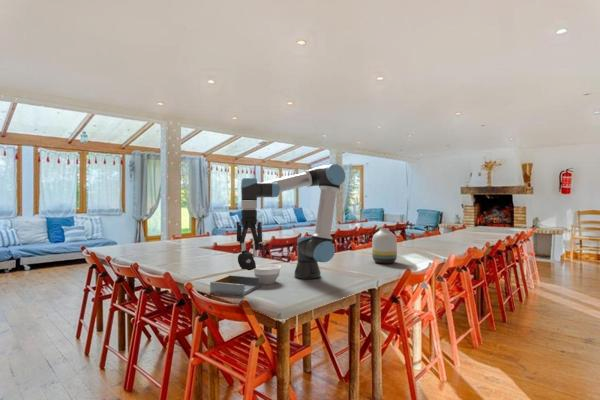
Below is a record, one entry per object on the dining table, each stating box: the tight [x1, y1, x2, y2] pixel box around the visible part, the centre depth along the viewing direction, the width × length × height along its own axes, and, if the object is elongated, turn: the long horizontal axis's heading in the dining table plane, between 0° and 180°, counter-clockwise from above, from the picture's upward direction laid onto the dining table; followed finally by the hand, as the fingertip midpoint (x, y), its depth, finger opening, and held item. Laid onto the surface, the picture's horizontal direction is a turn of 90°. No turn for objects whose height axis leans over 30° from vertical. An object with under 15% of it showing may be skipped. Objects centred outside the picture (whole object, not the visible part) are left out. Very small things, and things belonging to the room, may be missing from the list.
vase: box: [371, 227, 398, 265], centre depth 245 cm, size 17×17×24 cm
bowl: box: [253, 263, 282, 285], centre depth 187 cm, size 16×16×9 cm
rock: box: [237, 250, 257, 271], centre depth 165 cm, size 11×8×10 cm
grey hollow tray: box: [209, 274, 261, 297], centre depth 172 cm, size 18×17×5 cm
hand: (249, 256), depth 170 cm, fingers closed on rock, 6 cm apart
